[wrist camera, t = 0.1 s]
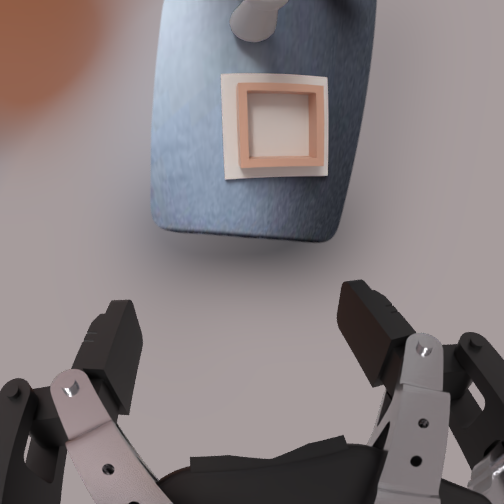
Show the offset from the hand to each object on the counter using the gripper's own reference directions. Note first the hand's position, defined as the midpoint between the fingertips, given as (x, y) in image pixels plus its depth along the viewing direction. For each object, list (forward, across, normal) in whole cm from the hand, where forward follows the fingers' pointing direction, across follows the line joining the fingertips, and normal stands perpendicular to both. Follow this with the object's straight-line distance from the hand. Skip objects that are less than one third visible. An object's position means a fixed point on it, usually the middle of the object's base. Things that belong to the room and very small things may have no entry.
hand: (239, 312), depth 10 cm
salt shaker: (+30, -5, -21) cm, 36 cm away
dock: (+29, -8, -7) cm, 31 cm away
